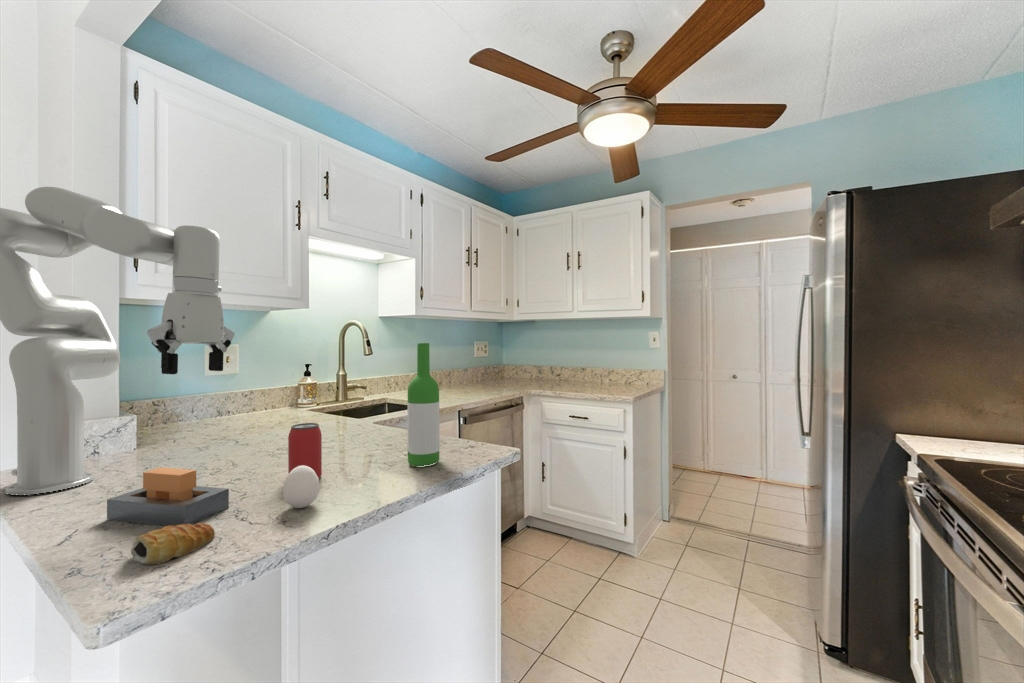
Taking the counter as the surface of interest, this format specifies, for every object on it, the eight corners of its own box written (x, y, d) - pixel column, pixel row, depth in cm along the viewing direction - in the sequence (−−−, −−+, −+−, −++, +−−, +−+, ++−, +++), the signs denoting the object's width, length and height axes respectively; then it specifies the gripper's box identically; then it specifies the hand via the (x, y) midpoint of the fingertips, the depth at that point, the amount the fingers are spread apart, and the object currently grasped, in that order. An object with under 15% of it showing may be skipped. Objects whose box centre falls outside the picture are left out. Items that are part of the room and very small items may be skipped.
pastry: (200, 532, 68) (200, 509, 67) (224, 542, 64) (224, 517, 64) (126, 559, 59) (126, 532, 59) (149, 572, 56) (149, 543, 56)
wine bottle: (433, 458, 110) (433, 343, 110) (444, 465, 103) (443, 343, 103) (403, 462, 106) (403, 343, 106) (412, 470, 99) (412, 343, 99)
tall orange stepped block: (143, 515, 74) (142, 472, 74) (160, 508, 77) (160, 467, 77) (179, 519, 72) (179, 475, 72) (196, 512, 75) (196, 470, 75)
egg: (324, 507, 77) (324, 466, 77) (287, 517, 73) (287, 473, 73) (314, 498, 82) (313, 459, 82) (279, 506, 78) (278, 465, 78)
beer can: (308, 485, 89) (308, 428, 89) (281, 483, 90) (281, 427, 90) (327, 475, 96) (327, 422, 96) (302, 474, 97) (302, 421, 97)
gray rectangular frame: (106, 519, 72) (106, 499, 72) (157, 501, 80) (157, 483, 80) (184, 527, 69) (184, 506, 69) (228, 507, 77) (228, 488, 77)
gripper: (219, 293, 95) (218, 369, 95) (135, 282, 79) (132, 374, 79) (247, 293, 94) (245, 370, 94) (166, 282, 77) (163, 376, 77)
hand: (193, 372), depth 86 cm, fingers open, 9 cm apart
